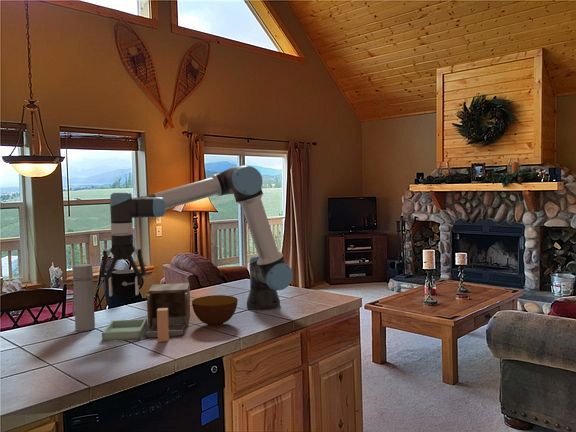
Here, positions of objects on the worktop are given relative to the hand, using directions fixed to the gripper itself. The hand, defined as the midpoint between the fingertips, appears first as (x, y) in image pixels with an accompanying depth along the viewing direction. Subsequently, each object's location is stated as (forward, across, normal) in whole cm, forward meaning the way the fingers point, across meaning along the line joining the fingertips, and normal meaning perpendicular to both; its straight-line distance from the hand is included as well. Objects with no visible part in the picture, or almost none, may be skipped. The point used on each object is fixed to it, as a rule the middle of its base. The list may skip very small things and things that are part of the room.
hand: (124, 294), depth 180 cm
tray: (+15, 0, 0) cm, 15 cm away
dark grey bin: (+14, -15, +2) cm, 21 cm away
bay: (+15, -15, -12) cm, 24 cm away
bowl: (+15, -33, -4) cm, 37 cm away
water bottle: (+15, +17, -9) cm, 25 cm away
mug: (+2, -1, -3) cm, 4 cm away
